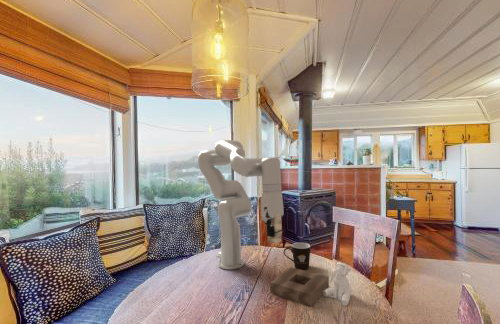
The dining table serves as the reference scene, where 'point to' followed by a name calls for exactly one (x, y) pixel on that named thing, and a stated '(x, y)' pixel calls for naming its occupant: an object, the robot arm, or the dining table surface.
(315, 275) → the walnut board
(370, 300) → the dining table surface
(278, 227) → the birch peg
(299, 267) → the coffee mug
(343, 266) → the sitting furry creature
